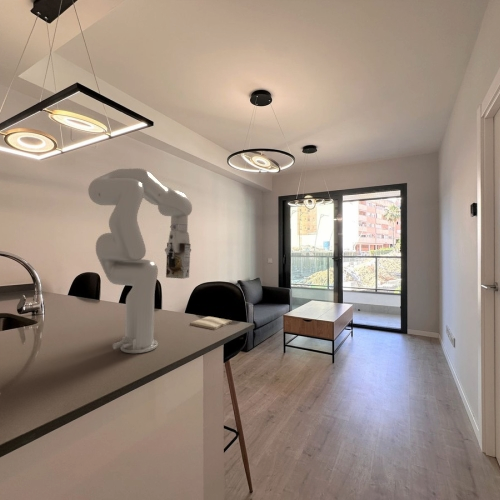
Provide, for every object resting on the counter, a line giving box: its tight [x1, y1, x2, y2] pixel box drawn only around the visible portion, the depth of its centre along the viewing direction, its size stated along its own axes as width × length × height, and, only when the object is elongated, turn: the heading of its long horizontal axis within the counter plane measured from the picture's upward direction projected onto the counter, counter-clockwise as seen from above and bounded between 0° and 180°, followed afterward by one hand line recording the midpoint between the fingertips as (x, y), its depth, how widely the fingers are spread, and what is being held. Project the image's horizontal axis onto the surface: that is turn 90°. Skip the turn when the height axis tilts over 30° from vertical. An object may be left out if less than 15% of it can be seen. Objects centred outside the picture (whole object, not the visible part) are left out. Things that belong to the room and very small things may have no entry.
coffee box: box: [165, 242, 191, 279], centre depth 134 cm, size 9×6×16 cm
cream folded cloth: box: [189, 316, 233, 330], centre depth 136 cm, size 14×14×1 cm
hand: (178, 266), depth 134 cm, fingers closed on coffee box, 7 cm apart
